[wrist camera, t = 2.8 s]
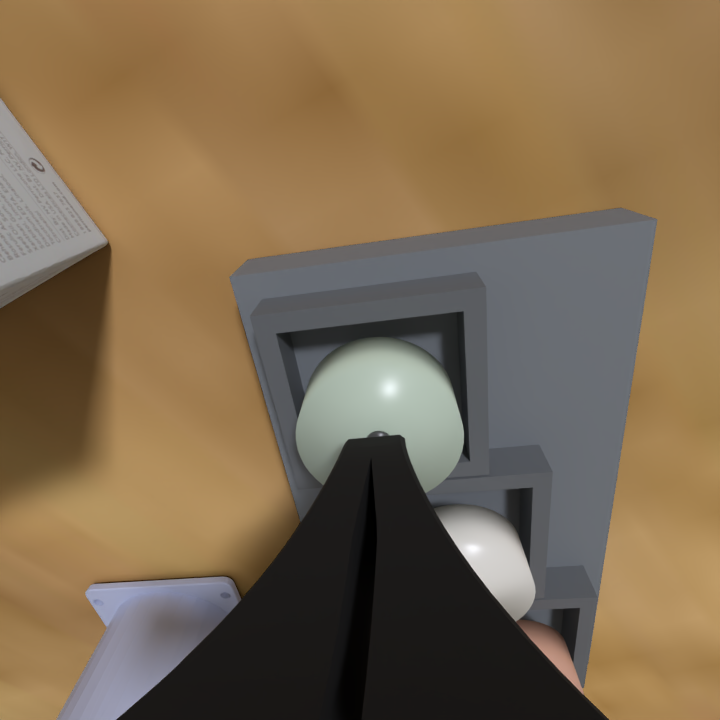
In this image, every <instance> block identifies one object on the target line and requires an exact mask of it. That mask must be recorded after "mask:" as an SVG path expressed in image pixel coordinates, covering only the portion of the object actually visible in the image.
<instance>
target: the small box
mask: <svg viewBox="0 0 720 720" xmlns="http://www.w3.org/2000/svg"><path fill="white" fill-rule="evenodd" d="M107 244H108V241H107V239H106V238H105V236H104V235H103V234H102V232H101V231H100V230H99V228H98V227H97V226H96V224H95V223H94V222H93V220H92V219H91V218H90V216H89V215H88V214H87V212H86V211H85V210H84V208H83V207H82V206H81V204H80V203H79V202H78V200H77V199H76V198H75V196H74V195H73V194H72V192H71V191H70V190H69V188H68V187H67V186H66V184H65V183H64V182H63V180H62V179H61V178H60V176H59V175H58V174H57V173H56V171H55V170H54V169H53V167H52V166H51V165H50V163H49V162H48V161H47V159H46V158H45V157H44V155H43V154H42V153H41V151H40V150H39V149H38V147H37V146H36V145H35V143H34V142H33V141H32V139H31V138H30V137H29V135H28V134H27V133H26V131H25V130H24V129H23V127H22V126H21V125H20V123H19V122H18V121H17V119H16V118H15V117H14V115H13V114H12V113H11V111H10V110H9V109H8V108H7V106H6V105H5V104H4V102H3V101H2V100H1V98H0V308H2V307H3V306H5V305H7V304H8V303H10V302H12V301H13V300H15V299H17V298H18V297H20V296H22V295H23V294H25V293H27V292H28V291H30V290H32V289H33V288H35V287H37V286H38V285H40V284H42V283H43V282H45V281H47V280H48V279H50V278H52V277H53V276H55V275H57V274H58V273H60V272H62V271H63V270H65V269H67V268H68V267H70V266H72V265H73V264H75V263H77V262H78V261H80V260H82V259H84V258H85V257H87V256H89V255H90V254H92V253H94V252H96V251H98V250H99V249H101V248H103V247H105V246H106V245H107Z"/></svg>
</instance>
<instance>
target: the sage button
mask: <svg viewBox="0 0 720 720" xmlns="http://www.w3.org/2000/svg"><path fill="white" fill-rule="evenodd" d="M390 435H401V436H402V437H404V438H405V442H406V448H407V452H408V455H409V458H410V461H411V463H412V466H413V468H414V471H415V473H416V475H417V477H418V480H419V482H420V484H421V486H422V488H423V490H424V492H425V493H427V492H428V491H430V490H432V489H433V488H435V487H436V486H438V485H439V484H440V483H441V482H443V481H444V480H445V479H446V478H447V477H448V476H449V475H450V473H451V472H452V471H453V469H454V468H455V466H456V464H457V463H458V461H459V458H460V456H461V453H462V449H463V444H464V430H463V424H462V420H461V416H460V413H459V409H458V405H457V402H456V398H455V394H454V391H453V387H452V384H451V381H450V378H449V376H448V374H447V372H446V371H445V369H444V368H443V366H442V365H441V364H440V363H439V362H438V360H437V359H436V358H435V357H433V356H432V355H431V354H430V353H429V352H427V351H426V350H424V349H423V348H421V347H419V346H417V345H415V344H413V343H411V342H407V341H404V340H401V339H396V338H391V337H368V338H363V339H358V340H355V341H351V342H349V343H346V344H344V345H342V346H340V347H338V348H337V349H335V350H333V351H332V352H331V353H329V354H328V355H327V356H326V357H325V358H324V359H323V360H322V361H321V362H320V363H319V364H318V366H317V367H316V369H315V370H314V372H313V374H312V376H311V378H310V380H309V383H308V387H307V390H306V393H305V397H304V400H303V404H302V407H301V410H300V414H299V417H298V421H297V425H296V444H297V449H298V452H299V455H300V458H301V459H302V461H303V463H304V465H305V467H306V468H307V469H308V471H309V472H310V473H311V474H312V475H313V476H314V478H315V479H316V480H318V481H319V482H320V483H321V484H322V485H324V484H325V482H326V480H327V478H328V476H329V474H330V473H331V471H332V469H333V467H334V465H335V463H336V461H337V459H338V457H339V455H340V453H341V451H342V448H343V446H344V444H345V443H346V441H347V440H348V439H356V438H367V437H379V436H390Z"/></svg>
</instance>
